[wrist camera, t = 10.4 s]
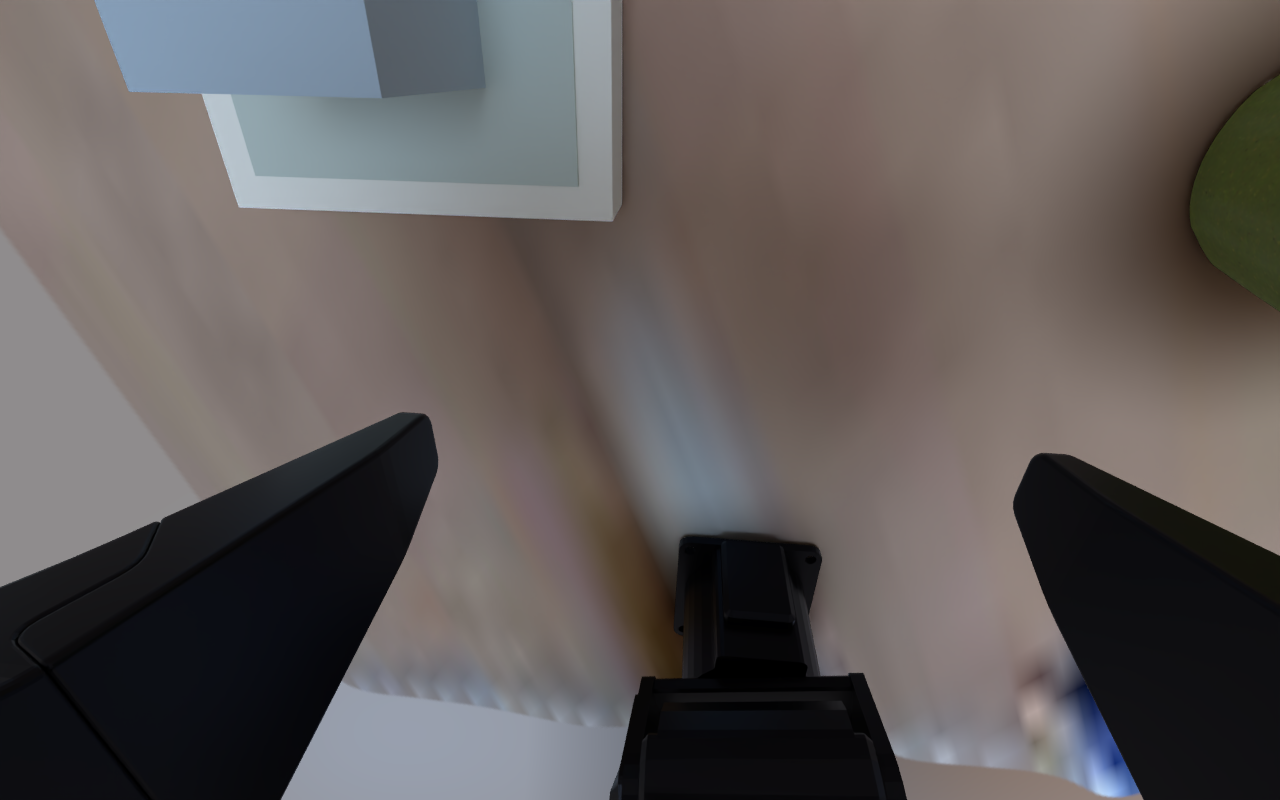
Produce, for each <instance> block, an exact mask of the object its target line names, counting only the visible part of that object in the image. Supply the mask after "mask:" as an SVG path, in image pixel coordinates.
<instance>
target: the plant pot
mask: <svg viewBox="0 0 1280 800" xmlns="http://www.w3.org/2000/svg"><path fill="white" fill-rule="evenodd" d="M1190 222H1191V228H1192V229H1193V231H1194V234H1195V236H1196V238H1197V240H1198V242H1199V244H1200V246H1201V248H1202V250H1203V251H1204V253H1205V255H1206V256H1207V258H1208V259H1209V261H1210V262H1211V263H1212V264H1213V265H1214V266H1215V267H1217V268H1218V269H1219V270H1221V271H1222V272H1223V273H1225V274H1226V275H1228V276H1229V277H1230V278H1232V279H1233V280H1235V281H1236V282H1238V283H1239V284H1240V285H1242V286H1243V287H1245V288H1246V289H1247V290H1249V291H1250V292H1252V293H1253V294H1254V295H1256V296H1257V297H1259V298H1260V299H1262V300H1263V301H1265V302H1266V303H1268V304H1269V305H1271V306H1272V307H1274V308H1275V309H1277V310H1278V311H1280V74H1279V75H1278V76H1277V77H1275V78H1274V79H1272V80H1271V81H1269V82H1268V83H1266V84H1265V85H1263V86H1262V87H1260V88H1259V89H1257V90H1256V91H1255V92H1254V93H1253V94H1252V95H1251V96H1250V97H1249V98H1248V99H1247V100H1246V101H1245V102H1244V103H1243V104H1242V105H1241V106H1240V107H1239V108H1238V109H1237V110H1236V111H1235V113H1234V114H1233V115H1232V116H1231V118H1230V119H1229V120H1228V121H1227V123H1226V124H1225V125H1224V127H1223V128H1222V129H1221V131H1220V132H1219V133H1218V135H1217V136H1216V138H1215V139H1214V141H1213V143H1212V144H1211V146H1210V148H1209V150H1208V151H1207V153H1206V155H1205V157H1204V159H1203V161H1202V163H1201V165H1200V168H1199V170H1198V173H1197V176H1196V179H1195V182H1194V186H1193V190H1192V194H1191V200H1190Z"/></svg>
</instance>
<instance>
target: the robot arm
mask: <svg viewBox="0 0 1280 800" xmlns="http://www.w3.org/2000/svg"><path fill="white" fill-rule="evenodd" d="M437 469H438V454H437V449H436V444H435V439H434V434H433V429H432V424H431V421H430V419H429V417H428V416H427V415H425V414H421V413H406V412H402V413H398V414H395V415H393V416H391V417H389V418H387V419H384V420H382V421H380V422H378V423H375V424H373V425H371V426H369V427H366V428H364V429H362V430H360V431H357V432H355V433H353V434H351V435H348V436H346V437H344V438H342V439H339V440H337V441H335V442H333V443H330V444H328V445H326V446H324V447H322V448H319V449H317V450H315V451H313V452H310V453H308V454H306V455H304V456H301V457H299V458H297V459H295V460H292V461H290V462H288V463H286V464H283V465H281V466H279V467H277V468H274V469H272V470H270V471H268V472H266V473H263V474H261V475H259V476H257V477H254V478H252V479H250V480H248V481H245V482H243V483H241V484H239V485H236V486H234V487H232V488H230V489H227V490H225V491H223V492H221V493H218V494H216V495H214V496H212V497H209V498H207V499H205V500H203V501H201V502H198V503H196V504H194V505H192V506H190V507H187V508H185V509H183V510H180V511H178V512H176V513H174V514H171V515H169V516H167V517H165V518H163V519H162V520H161V523H160V522H153V523H151V524H149V525H147V526H144V527H142V528H140V529H137V530H136V531H133V532H131V533H129V534H126V535H124V536H122V537H119V538H117V539H115V540H112V541H110V542H108V543H106V544H103V545H101V546H99V547H97V548H94V549H92V550H90V551H87V552H85V553H82V554H80V555H78V556H76V557H73V558H71V559H68V560H66V561H63V562H61V563H59V564H56V565H54V566H51V567H49V568H46V569H44V570H41V571H39V572H36V573H34V574H32V575H29V576H26V577H24V578H22V579H19V580H17V581H14V582H12V583H9V584H7V585H4V586H2V587H0V800H281V798H282V796H283V794H284V792H285V790H286V789H287V787H288V785H289V782H290V781H291V779H292V777H293V775H294V773H295V771H296V769H297V767H298V765H299V763H300V761H301V759H302V757H303V755H304V753H305V751H306V749H307V747H308V746H309V744H310V742H311V740H312V738H313V736H314V734H315V732H316V730H317V728H318V726H319V724H320V722H321V720H322V718H323V716H324V714H325V712H326V710H327V708H328V706H329V704H330V702H331V700H332V698H333V696H334V695H335V693H336V691H337V689H338V687H339V685H340V683H341V681H342V679H343V677H344V675H345V673H346V671H347V669H348V667H349V665H350V663H351V661H352V659H353V657H354V655H355V654H356V652H357V650H358V648H359V646H360V644H361V642H362V640H363V638H364V636H365V634H366V632H367V630H368V628H369V626H370V624H371V622H372V620H373V618H374V616H375V614H376V612H377V610H378V609H379V607H380V605H381V603H382V601H383V599H384V597H385V595H386V593H387V591H388V589H389V587H390V585H391V583H392V581H393V579H394V577H395V575H396V573H397V571H398V569H399V567H400V565H401V563H402V561H403V559H404V557H405V555H406V552H407V550H408V548H409V545H410V543H411V540H412V538H413V535H414V532H415V529H416V527H417V524H418V521H419V519H420V516H421V513H422V511H423V508H424V505H425V503H426V500H427V497H428V495H429V492H430V489H431V487H432V484H433V481H434V478H435V476H436V473H437ZM1013 510H1014V514H1015V517H1016V520H1017V523H1018V526H1019V528H1020V531H1021V534H1022V537H1023V539H1024V542H1025V545H1026V548H1027V550H1028V553H1029V556H1030V559H1031V561H1032V564H1033V567H1034V569H1035V572H1036V575H1037V578H1038V580H1039V583H1040V586H1041V589H1042V591H1043V594H1044V596H1045V599H1046V601H1047V604H1048V606H1049V608H1050V611H1051V613H1052V615H1053V617H1054V619H1055V621H1056V624H1057V626H1058V628H1059V630H1060V632H1061V634H1062V636H1063V638H1064V640H1065V642H1066V644H1067V646H1068V648H1069V650H1070V652H1071V654H1072V656H1073V658H1074V660H1075V662H1076V664H1077V666H1078V668H1079V670H1080V672H1081V674H1082V676H1083V678H1084V680H1085V682H1086V684H1087V686H1088V688H1089V690H1090V692H1091V694H1092V696H1093V698H1094V700H1095V702H1096V704H1097V706H1098V708H1099V711H1100V713H1101V715H1102V717H1103V719H1104V721H1105V723H1106V725H1107V727H1108V729H1109V731H1110V733H1111V735H1112V737H1113V739H1114V741H1115V743H1116V745H1117V747H1118V749H1119V751H1120V753H1121V755H1122V757H1123V759H1124V761H1125V763H1126V765H1127V767H1128V769H1129V771H1130V773H1131V775H1132V777H1133V779H1134V781H1135V783H1136V785H1137V787H1138V789H1139V791H1140V793H1141V795H1142V797H1143V799H1144V800H1280V556H1279V555H1277V554H1275V553H1273V552H1271V551H1269V550H1266V549H1264V548H1262V547H1260V546H1258V545H1256V544H1254V543H1252V542H1250V541H1248V540H1246V539H1244V538H1242V537H1240V536H1237V535H1235V534H1233V533H1231V532H1229V531H1227V530H1225V529H1223V528H1221V527H1219V526H1217V525H1215V524H1213V523H1210V522H1208V521H1206V520H1204V519H1202V518H1200V517H1198V516H1196V515H1194V514H1192V513H1190V512H1188V511H1186V510H1183V509H1181V508H1179V507H1177V506H1175V505H1173V504H1171V503H1169V502H1167V501H1165V500H1163V499H1161V498H1159V497H1156V496H1154V495H1152V494H1150V493H1148V492H1146V491H1144V490H1142V489H1140V488H1138V487H1136V486H1134V485H1132V484H1130V483H1127V482H1125V481H1123V480H1121V479H1119V478H1117V477H1115V476H1113V475H1111V474H1109V473H1107V472H1105V471H1103V470H1100V469H1098V468H1096V467H1094V466H1092V465H1090V464H1088V463H1086V462H1084V461H1082V460H1080V459H1078V458H1076V457H1073V456H1071V455H1066V454H1052V453H1040V454H1037V455H1035V456H1034V457H1033V458H1032V459H1031V461H1030V463H1029V465H1028V467H1027V469H1026V472H1025V474H1024V476H1023V478H1022V481H1021V483H1020V485H1019V487H1018V490H1017V492H1016V494H1015V497H1014V501H1013ZM690 546H691V547H693V548H687V547H690ZM808 556H813V557H809V558H808ZM821 562H822V557H821V553H820V550H819V549H818V548H817V547H815V546H810V545H797V544H784V543H771V542H757V541H744V540H731V539H718V538H704V537H691V536H690V537H685V538H683V539H682V540H681V541H680V544H679V558H678V573H677V587H676V601H675V616H674V631H675V632H676V633H677V634H679V635H683V666H682V678H672V679H656V677H655V676H650V677H642V679H641V683H640V688H639V693H638V695H635V699H634V703H633V708H632V713H631V717H630V722H629V727H628V731H627V736H626V741H625V746H624V750H623V755H622V760H621V764H620V768H619V771H618V773H617V776H616V778H615V781H614V783H613V786H612V788H611V791H610V800H907V798H906V794H905V789H904V785H903V781H902V778H901V775H900V771H899V767H898V764H897V761H896V758H895V755H894V752H893V750H892V747H891V745H890V742H889V739H888V737H887V734H886V731H885V729H884V726H883V723H882V721H881V718H880V716H879V713H878V710H877V708H876V705H875V702H874V700H873V697H872V695H871V692H870V689H869V687H868V684H867V681H866V679H865V676H864V674H863V673H848V676H820V671H819V666H818V661H817V656H816V650H815V645H814V640H813V635H812V630H811V625H810V620H809V611H810V607H811V603H812V599H813V595H814V591H815V587H816V583H817V579H818V575H819V570H820V566H821Z"/></svg>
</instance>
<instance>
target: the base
mask: <svg viewBox="0 0 1280 800" xmlns="http://www.w3.org/2000/svg"><path fill="white" fill-rule="evenodd" d="M477 7H478V16H479V26H480V36H481V45H482V55H483V65H484V74H485V84H486V88H479V89H469V90H459V91H449V92H439V93H429V94H419V95H409V96H399V97H389V98H352V97H314V96H276V95H237V94H202V96H203V99H204V102H205V105H206V108H207V111H208V114H209V117H210V120H211V123H212V126H213V130H214V133H215V136H216V139H217V142H218V145H219V148H220V151H221V154H222V157H223V160H224V163H225V166H226V169H227V172H228V176H229V179H230V182H231V185H232V188H233V191H234V194H235V197H236V200H237V203H238V206H239V207H242V208H268V209H295V210H321V211H347V212H373V213H399V214H425V215H451V216H477V217H504V218H530V219H556V220H582V221H608V222H613V220H614V218H615V217H616V215H617V213H618V211H619V209H620V208H621V206H622V0H477Z"/></svg>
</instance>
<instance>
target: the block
mask: <svg viewBox="0 0 1280 800" xmlns="http://www.w3.org/2000/svg"><path fill="white" fill-rule="evenodd" d="M94 1H95V3H96V6H97V8H98V11H99V14H100V16H101V19H102V22H103V24H104V27H105V30H106V32H107V35H108V37H109V40H110V43H111V45H112V48H113V51H114V53H115V56H116V58H117V61H118V64H119V66H120V69H121V72H122V74H123V77H124V79H125V82H126V85H127V87H128V90H129V92H160V93H199V94H237V95H276V96H314V97H352V98H389V97H399V96H409V95H419V94H429V93H439V92H449V91H459V90H469V89H479V88H486V84H485V74H484V65H483V55H482V45H481V36H480V26H479V16H478V7H477V0H94Z"/></svg>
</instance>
